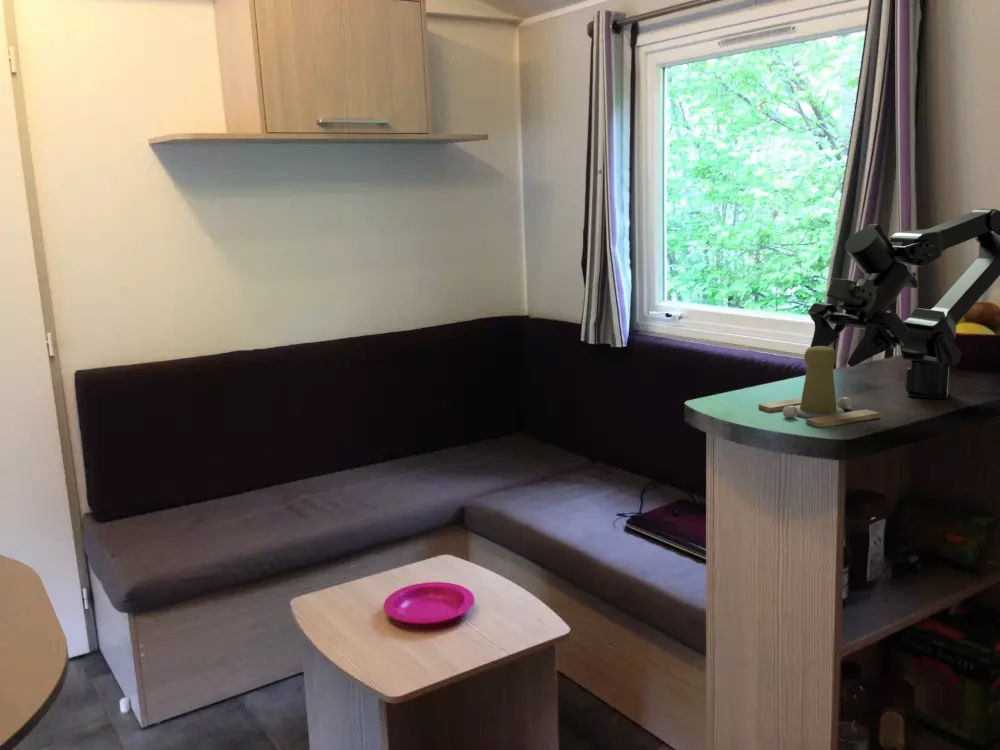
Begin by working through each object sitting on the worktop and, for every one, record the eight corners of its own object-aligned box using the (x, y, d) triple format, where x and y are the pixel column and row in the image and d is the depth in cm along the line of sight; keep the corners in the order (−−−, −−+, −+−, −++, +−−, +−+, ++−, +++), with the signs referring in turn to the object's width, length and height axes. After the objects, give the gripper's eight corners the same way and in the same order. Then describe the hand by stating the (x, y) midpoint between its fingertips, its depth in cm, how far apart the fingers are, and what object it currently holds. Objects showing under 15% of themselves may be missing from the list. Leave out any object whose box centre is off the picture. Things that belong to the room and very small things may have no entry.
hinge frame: (816, 399, 166) (816, 389, 165) (880, 417, 152) (880, 405, 152) (757, 408, 160) (757, 397, 160) (818, 428, 147) (818, 416, 147)
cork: (823, 415, 152) (826, 351, 150) (792, 409, 157) (794, 347, 155) (843, 409, 156) (846, 346, 154) (812, 403, 160) (815, 342, 158)
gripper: (817, 257, 162) (767, 324, 160) (900, 264, 145) (845, 339, 143) (849, 297, 167) (800, 362, 165) (933, 308, 150) (880, 381, 148)
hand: (829, 360), depth 155 cm, fingers open, 9 cm apart
